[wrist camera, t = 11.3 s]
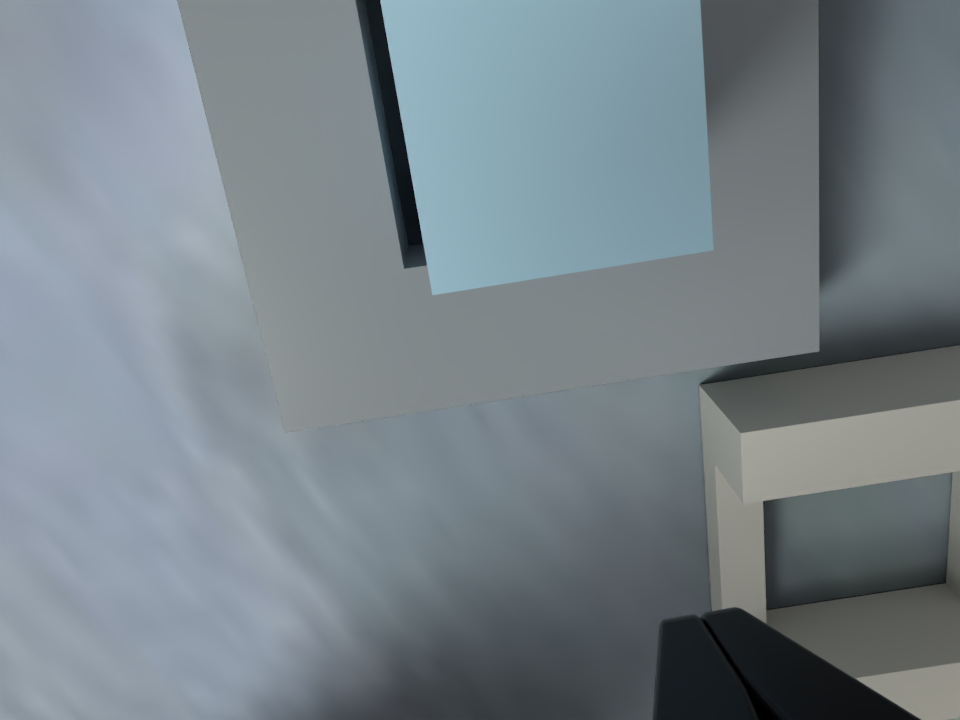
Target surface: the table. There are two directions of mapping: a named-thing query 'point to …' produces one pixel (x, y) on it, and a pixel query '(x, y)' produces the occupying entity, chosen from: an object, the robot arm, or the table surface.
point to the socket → (506, 307)
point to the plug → (551, 134)
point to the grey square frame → (832, 466)
